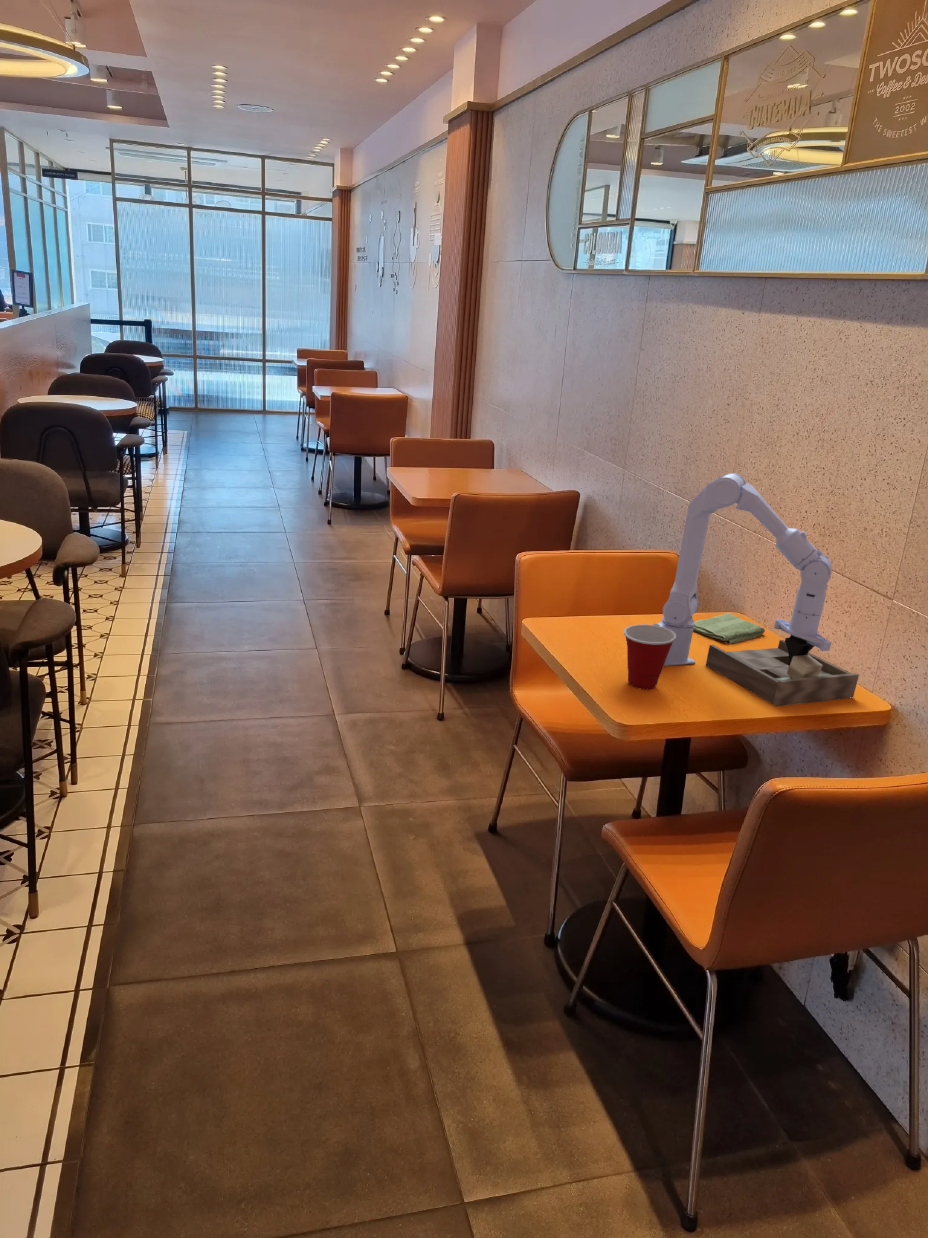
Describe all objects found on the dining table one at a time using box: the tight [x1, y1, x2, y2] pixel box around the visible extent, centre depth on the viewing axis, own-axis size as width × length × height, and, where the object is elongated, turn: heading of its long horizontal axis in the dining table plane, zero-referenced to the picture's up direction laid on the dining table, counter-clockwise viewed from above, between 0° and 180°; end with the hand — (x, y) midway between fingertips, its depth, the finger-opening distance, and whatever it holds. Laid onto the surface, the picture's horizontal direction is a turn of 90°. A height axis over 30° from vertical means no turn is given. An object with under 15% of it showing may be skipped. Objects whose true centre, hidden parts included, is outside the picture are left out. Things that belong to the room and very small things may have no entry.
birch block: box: [787, 655, 823, 679], centre depth 194 cm, size 4×4×4 cm
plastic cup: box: [623, 623, 676, 691], centre depth 189 cm, size 11×11×12 cm
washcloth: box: [693, 612, 766, 645], centre depth 231 cm, size 13×18×3 cm
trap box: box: [705, 639, 860, 707], centre depth 200 cm, size 22×23×6 cm
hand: (793, 670), depth 197 cm, fingers closed, pressing on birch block
